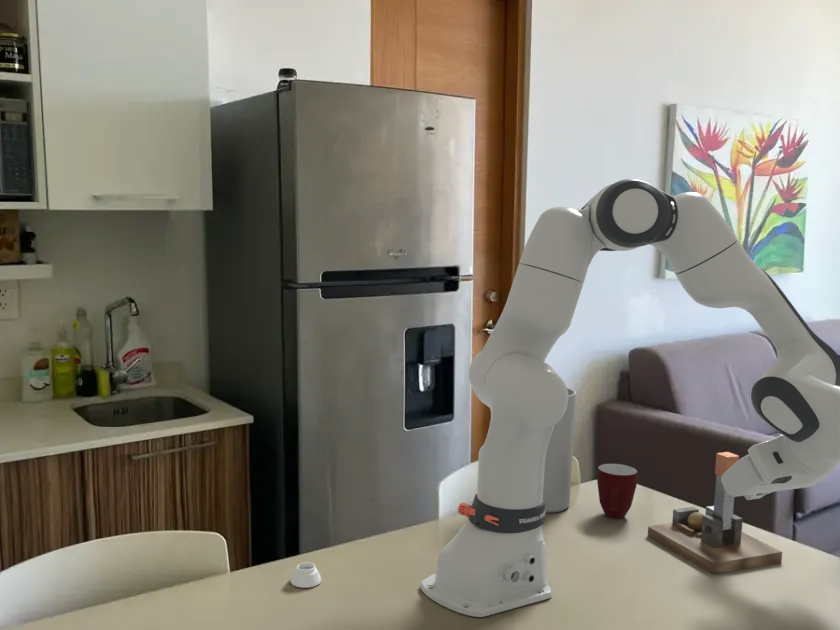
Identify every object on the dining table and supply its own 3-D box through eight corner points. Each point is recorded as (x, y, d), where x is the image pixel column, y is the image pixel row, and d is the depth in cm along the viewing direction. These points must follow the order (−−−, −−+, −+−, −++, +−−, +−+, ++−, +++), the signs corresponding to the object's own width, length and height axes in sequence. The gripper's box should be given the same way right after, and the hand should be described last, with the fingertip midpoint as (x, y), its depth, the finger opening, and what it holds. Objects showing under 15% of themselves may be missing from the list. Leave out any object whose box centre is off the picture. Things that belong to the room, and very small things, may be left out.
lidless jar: (286, 588, 132) (315, 591, 131) (286, 570, 131) (315, 574, 130) (296, 575, 137) (324, 578, 136) (296, 558, 136) (325, 561, 135)
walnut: (700, 534, 155) (701, 517, 154) (683, 529, 157) (685, 512, 157) (709, 530, 157) (710, 513, 157) (692, 525, 160) (694, 508, 159)
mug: (637, 528, 162) (640, 480, 161) (596, 525, 163) (599, 477, 162) (632, 510, 173) (635, 465, 171) (594, 507, 174) (596, 462, 173)
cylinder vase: (509, 511, 170) (515, 394, 167) (512, 491, 182) (518, 382, 179) (570, 516, 168) (576, 398, 165) (569, 496, 180) (575, 386, 177)
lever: (721, 530, 149) (727, 457, 147) (704, 522, 153) (709, 450, 152) (733, 529, 150) (739, 456, 149) (715, 520, 154) (721, 449, 153)
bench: (713, 574, 142) (716, 536, 141) (647, 536, 159) (650, 501, 158) (781, 562, 148) (784, 525, 147) (711, 526, 165) (714, 493, 164)
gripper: (835, 436, 140) (785, 474, 150) (744, 446, 132) (698, 484, 142) (855, 469, 136) (802, 505, 147) (763, 480, 129) (714, 518, 139)
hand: (750, 495), depth 144 cm, fingers closed
